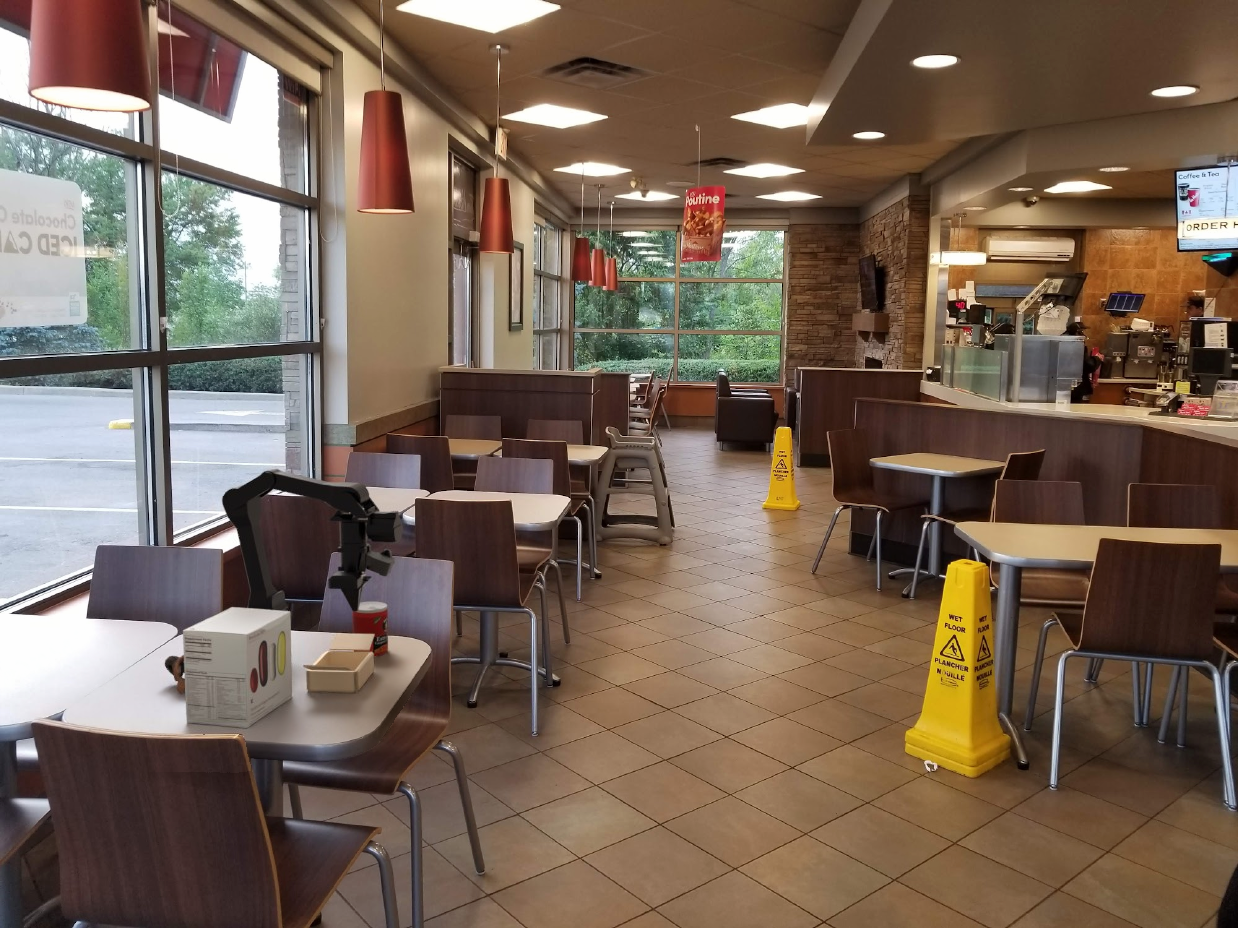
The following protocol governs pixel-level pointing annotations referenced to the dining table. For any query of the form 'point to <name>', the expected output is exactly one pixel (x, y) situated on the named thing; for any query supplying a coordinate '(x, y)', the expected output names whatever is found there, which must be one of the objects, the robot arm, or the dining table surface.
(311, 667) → the near flap
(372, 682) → the dining table surface
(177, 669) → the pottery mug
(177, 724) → the dining table surface
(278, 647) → the supplement box
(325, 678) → the carton
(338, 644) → the far flap
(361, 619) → the canned food
